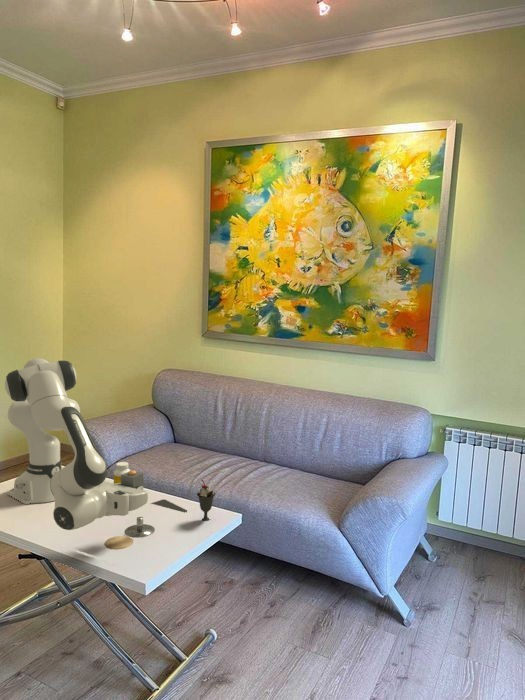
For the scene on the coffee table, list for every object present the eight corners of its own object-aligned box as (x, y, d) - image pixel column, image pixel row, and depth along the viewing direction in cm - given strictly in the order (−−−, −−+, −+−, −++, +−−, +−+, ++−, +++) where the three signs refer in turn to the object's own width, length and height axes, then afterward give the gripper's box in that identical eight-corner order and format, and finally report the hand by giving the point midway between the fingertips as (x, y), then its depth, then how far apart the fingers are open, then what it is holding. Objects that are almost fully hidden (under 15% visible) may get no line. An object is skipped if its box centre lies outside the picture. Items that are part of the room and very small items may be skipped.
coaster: (98, 546, 162) (98, 544, 162) (118, 535, 170) (118, 533, 170) (119, 553, 158) (119, 551, 158) (139, 542, 166) (139, 540, 166)
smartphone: (173, 516, 185) (148, 503, 195) (173, 518, 185) (148, 506, 195) (188, 510, 191) (164, 498, 201) (188, 513, 191) (164, 500, 201)
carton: (120, 504, 166) (121, 472, 165) (131, 499, 170) (131, 468, 169) (132, 507, 164) (133, 475, 163) (143, 502, 168) (143, 470, 167)
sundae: (196, 517, 186) (197, 477, 185) (214, 517, 187) (215, 477, 185) (195, 525, 180) (196, 483, 178) (214, 525, 180) (215, 484, 179)
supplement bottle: (125, 498, 201) (126, 467, 200) (110, 496, 202) (110, 465, 201) (133, 492, 207) (133, 462, 206) (118, 490, 209) (118, 460, 207)
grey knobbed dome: (118, 534, 170) (118, 520, 170) (138, 523, 179) (138, 509, 179) (141, 541, 166) (141, 527, 165) (160, 530, 175) (161, 516, 174)
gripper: (78, 503, 160) (109, 489, 172) (129, 517, 151) (158, 501, 163) (78, 483, 159) (109, 471, 171) (129, 496, 150) (158, 482, 163)
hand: (133, 486), depth 167 cm, fingers closed on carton, 5 cm apart
